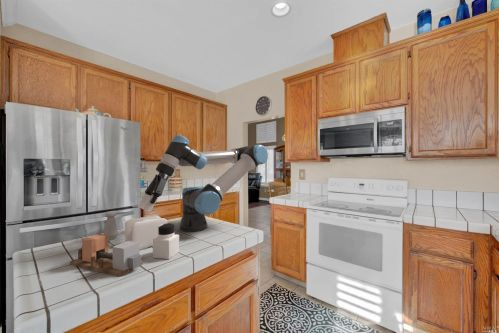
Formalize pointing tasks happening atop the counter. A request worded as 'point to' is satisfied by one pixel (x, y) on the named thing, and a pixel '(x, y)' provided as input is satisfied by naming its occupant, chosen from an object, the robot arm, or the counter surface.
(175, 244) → the medicine bottle
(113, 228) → the salt shaker
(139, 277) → the counter surface
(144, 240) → the cable organizer
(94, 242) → the sleeve
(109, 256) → the dark grey rod
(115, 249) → the block
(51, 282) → the counter surface
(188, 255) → the counter surface
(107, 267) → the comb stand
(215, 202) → the robot arm
